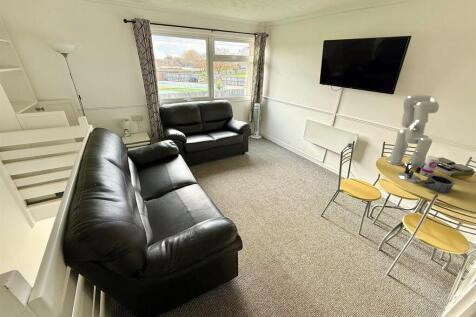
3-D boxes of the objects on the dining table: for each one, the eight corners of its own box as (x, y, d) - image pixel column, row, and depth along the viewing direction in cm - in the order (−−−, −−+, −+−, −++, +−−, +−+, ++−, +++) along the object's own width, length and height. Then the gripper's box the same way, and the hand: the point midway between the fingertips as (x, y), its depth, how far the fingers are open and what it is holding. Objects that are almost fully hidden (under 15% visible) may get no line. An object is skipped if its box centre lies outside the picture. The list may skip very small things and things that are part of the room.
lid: (393, 173, 172) (395, 167, 169) (409, 172, 173) (412, 166, 171) (408, 183, 159) (411, 176, 156) (425, 182, 160) (429, 175, 157)
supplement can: (433, 177, 167) (442, 160, 160) (422, 175, 169) (430, 159, 162) (427, 172, 174) (435, 156, 168) (416, 171, 176) (424, 155, 169)
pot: (412, 183, 158) (415, 175, 155) (438, 181, 161) (442, 174, 158) (429, 194, 146) (433, 186, 143) (457, 192, 148) (462, 184, 145)
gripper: (425, 151, 160) (417, 170, 167) (405, 152, 158) (397, 171, 165) (434, 155, 153) (425, 175, 161) (414, 156, 151) (405, 176, 159)
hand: (411, 173), depth 163 cm, fingers open, 9 cm apart
